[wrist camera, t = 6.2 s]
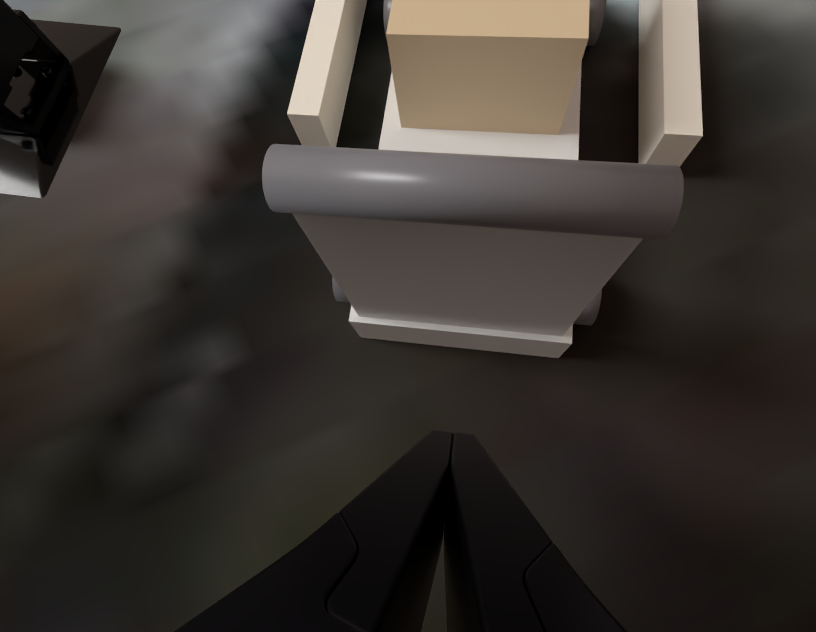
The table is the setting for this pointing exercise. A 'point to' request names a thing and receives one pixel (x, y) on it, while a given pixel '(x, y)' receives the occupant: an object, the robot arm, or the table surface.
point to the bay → (658, 77)
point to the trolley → (476, 184)
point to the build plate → (44, 93)
